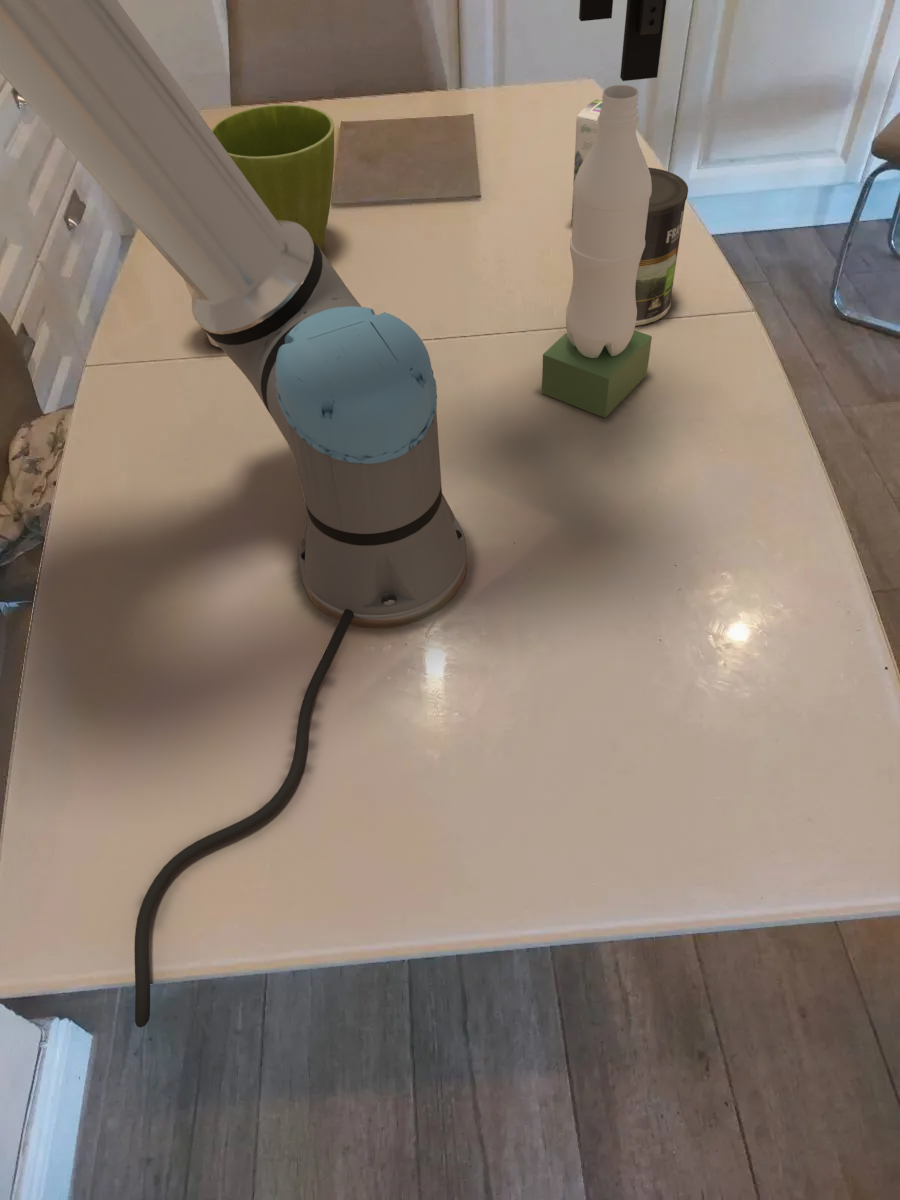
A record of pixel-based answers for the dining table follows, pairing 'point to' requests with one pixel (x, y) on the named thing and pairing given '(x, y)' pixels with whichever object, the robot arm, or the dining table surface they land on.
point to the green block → (594, 374)
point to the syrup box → (585, 134)
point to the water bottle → (608, 230)
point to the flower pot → (285, 160)
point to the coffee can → (660, 246)
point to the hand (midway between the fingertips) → (615, 46)
